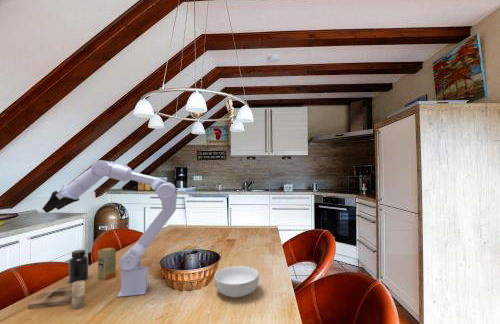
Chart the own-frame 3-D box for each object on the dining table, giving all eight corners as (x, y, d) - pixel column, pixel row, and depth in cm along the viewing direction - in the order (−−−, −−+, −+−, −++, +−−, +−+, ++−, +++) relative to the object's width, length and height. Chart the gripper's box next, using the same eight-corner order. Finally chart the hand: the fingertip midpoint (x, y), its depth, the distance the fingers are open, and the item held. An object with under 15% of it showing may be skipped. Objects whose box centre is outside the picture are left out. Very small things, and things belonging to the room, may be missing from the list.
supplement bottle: (84, 275, 116) (85, 248, 116) (90, 279, 111) (90, 250, 112) (66, 280, 110) (66, 251, 111) (71, 284, 106) (72, 254, 106)
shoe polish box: (104, 280, 110) (104, 251, 110) (97, 278, 112) (98, 250, 113) (115, 276, 114) (115, 248, 114) (109, 274, 116) (109, 247, 117)
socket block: (83, 289, 101) (83, 285, 101) (68, 304, 89) (68, 300, 89) (48, 292, 99) (48, 288, 99) (27, 309, 87) (27, 304, 87)
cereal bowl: (218, 283, 106) (217, 265, 106) (258, 283, 105) (258, 265, 105) (210, 304, 89) (210, 283, 89) (259, 304, 88) (258, 283, 89)
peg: (86, 303, 90) (86, 279, 91) (81, 308, 87) (82, 284, 87) (74, 304, 90) (75, 280, 90) (69, 309, 86) (70, 285, 86)
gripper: (83, 175, 104) (53, 199, 102) (64, 176, 90) (30, 203, 87) (95, 189, 105) (66, 212, 102) (79, 191, 90) (45, 218, 88)
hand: (50, 209), depth 95 cm, fingers open, 7 cm apart
